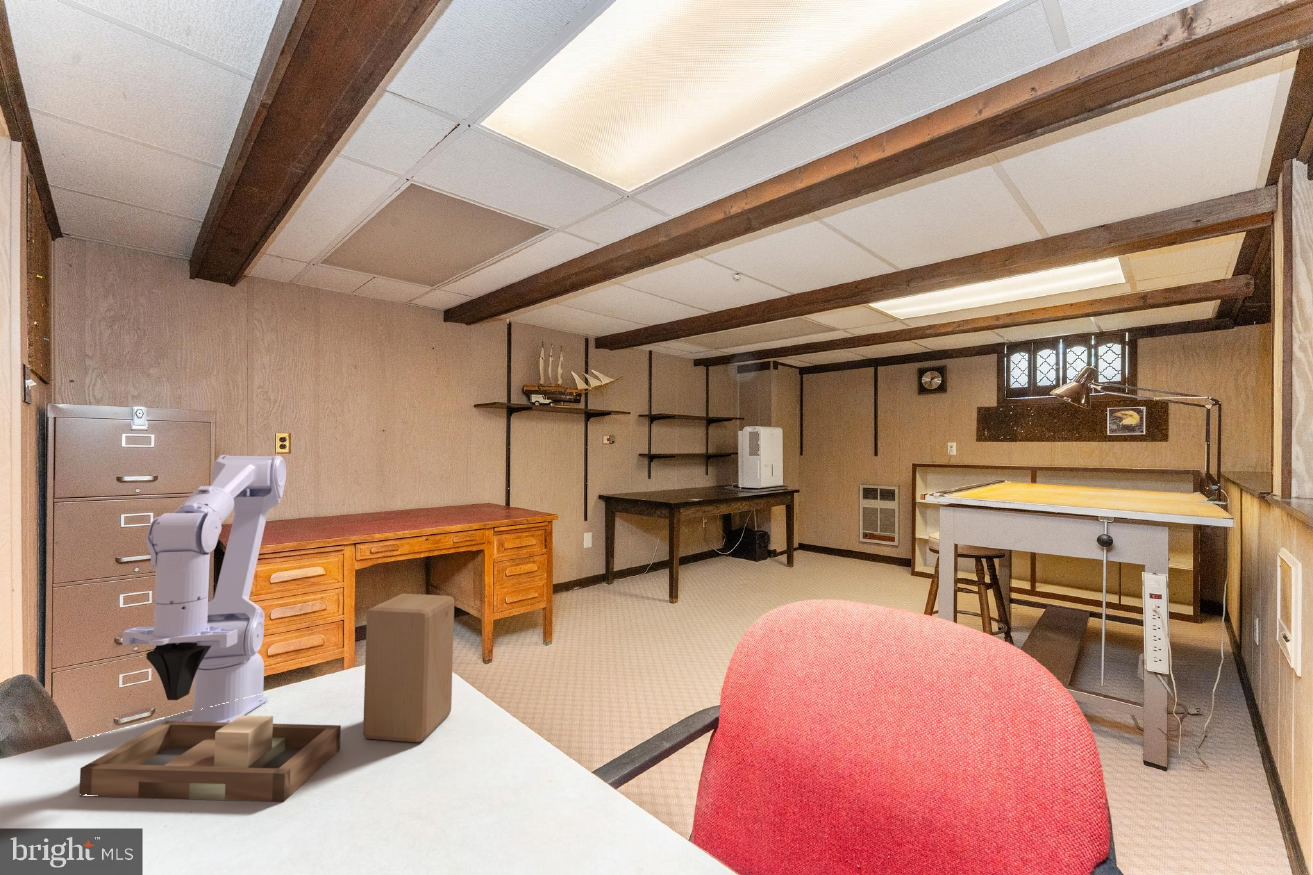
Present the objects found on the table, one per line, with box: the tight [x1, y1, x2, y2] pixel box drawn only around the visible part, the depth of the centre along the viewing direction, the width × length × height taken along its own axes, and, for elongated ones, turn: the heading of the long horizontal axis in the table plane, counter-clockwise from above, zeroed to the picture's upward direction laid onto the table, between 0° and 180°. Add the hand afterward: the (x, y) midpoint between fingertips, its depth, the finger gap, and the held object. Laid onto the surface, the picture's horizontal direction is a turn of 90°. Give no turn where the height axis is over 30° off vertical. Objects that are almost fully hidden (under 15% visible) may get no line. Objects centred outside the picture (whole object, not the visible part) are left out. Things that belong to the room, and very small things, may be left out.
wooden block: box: [362, 593, 455, 743], centre depth 88 cm, size 10×10×20 cm
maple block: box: [214, 714, 274, 767], centre depth 75 cm, size 4×4×4 cm
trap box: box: [78, 720, 342, 803], centre depth 75 cm, size 12×26×4 cm, turn 89°
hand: (178, 696), depth 76 cm, fingers closed
